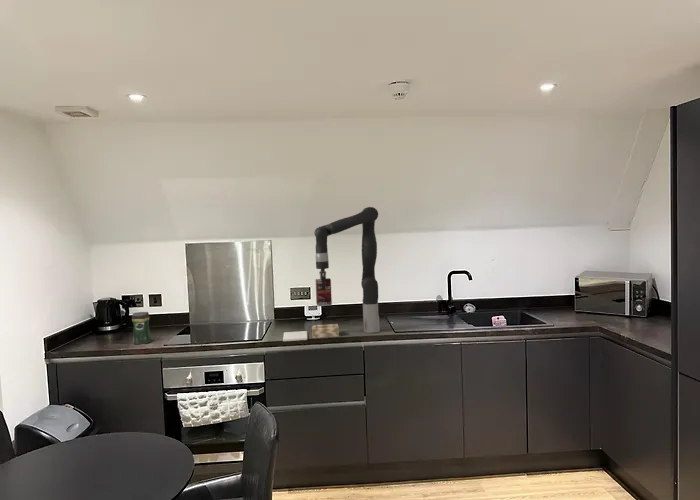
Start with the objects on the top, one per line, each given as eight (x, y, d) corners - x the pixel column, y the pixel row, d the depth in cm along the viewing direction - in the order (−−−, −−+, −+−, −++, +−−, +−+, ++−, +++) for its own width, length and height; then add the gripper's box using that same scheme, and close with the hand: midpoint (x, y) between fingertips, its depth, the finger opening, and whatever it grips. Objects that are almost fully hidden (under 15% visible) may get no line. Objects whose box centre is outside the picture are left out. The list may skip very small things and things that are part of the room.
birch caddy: (337, 332, 323) (337, 324, 322) (339, 336, 311) (338, 327, 311) (312, 333, 321) (312, 325, 321) (312, 337, 310) (312, 329, 310)
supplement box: (318, 306, 312) (316, 279, 311) (316, 305, 316) (315, 279, 316) (332, 305, 314) (331, 278, 313) (330, 304, 319) (329, 278, 318)
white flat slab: (306, 332, 325) (306, 331, 325) (307, 339, 305) (307, 338, 305) (284, 334, 324) (283, 332, 324) (282, 341, 304) (282, 339, 304)
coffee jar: (152, 341, 320) (150, 310, 319) (149, 343, 312) (147, 312, 311) (135, 342, 319) (133, 311, 318) (132, 345, 311) (130, 313, 310)
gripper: (329, 261, 307) (330, 290, 308) (327, 259, 321) (329, 287, 322) (316, 261, 306) (317, 290, 307) (315, 260, 321) (316, 287, 322)
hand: (323, 288), depth 315 cm, fingers closed on supplement box, 5 cm apart
